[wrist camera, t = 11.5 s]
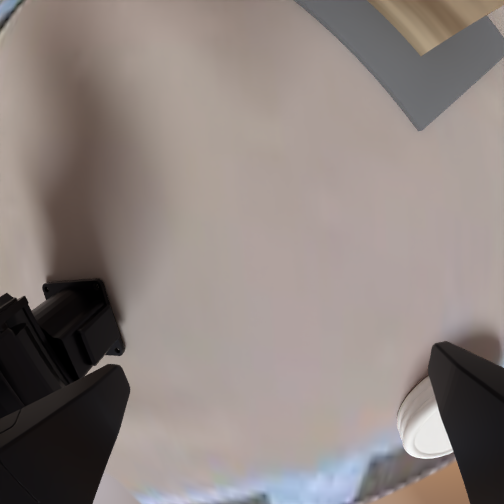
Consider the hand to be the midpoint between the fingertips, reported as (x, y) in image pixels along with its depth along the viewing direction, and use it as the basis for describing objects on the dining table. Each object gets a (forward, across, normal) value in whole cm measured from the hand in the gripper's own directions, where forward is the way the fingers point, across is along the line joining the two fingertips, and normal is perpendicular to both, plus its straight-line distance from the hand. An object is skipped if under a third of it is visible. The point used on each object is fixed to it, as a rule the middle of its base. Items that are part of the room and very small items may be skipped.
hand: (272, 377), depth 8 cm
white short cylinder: (+12, -14, +16) cm, 25 cm away
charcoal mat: (+12, -11, -15) cm, 22 cm away
